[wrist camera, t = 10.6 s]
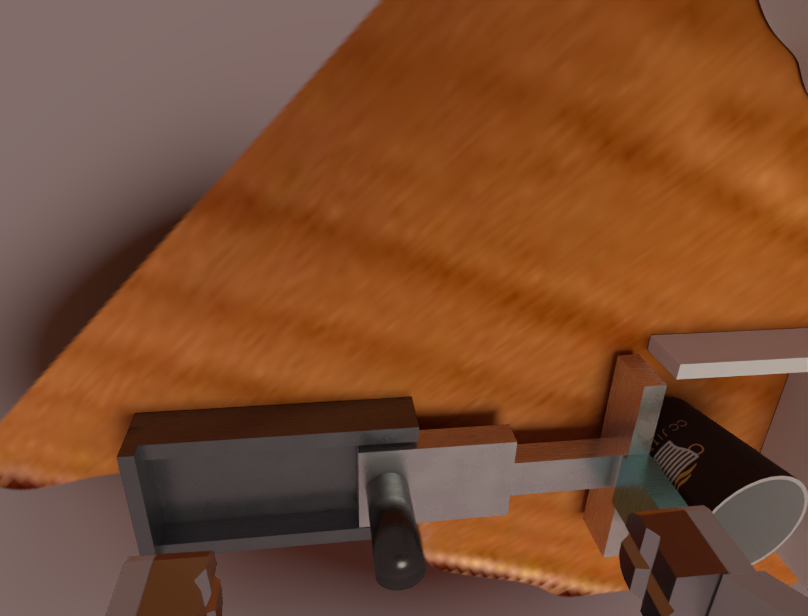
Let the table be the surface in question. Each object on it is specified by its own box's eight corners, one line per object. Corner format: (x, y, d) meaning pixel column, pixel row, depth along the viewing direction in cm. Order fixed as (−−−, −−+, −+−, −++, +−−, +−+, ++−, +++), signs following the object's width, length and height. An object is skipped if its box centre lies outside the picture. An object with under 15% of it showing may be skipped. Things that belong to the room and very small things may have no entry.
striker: (648, 353, 44) (788, 499, 31) (609, 516, 51) (710, 689, 39) (354, 369, 41) (374, 536, 29) (356, 539, 49) (373, 733, 36)
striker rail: (411, 397, 44) (421, 436, 40) (407, 501, 48) (416, 546, 44) (135, 413, 41) (116, 457, 37) (158, 521, 46) (143, 571, 42)
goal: (820, 327, 46) (941, 404, 37) (751, 508, 54) (837, 606, 46) (650, 335, 44) (735, 419, 35) (606, 521, 53) (666, 626, 44)
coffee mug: (692, 365, 46) (800, 453, 37) (714, 436, 50) (814, 528, 42) (559, 445, 46) (636, 550, 37) (592, 508, 50) (668, 615, 42)
